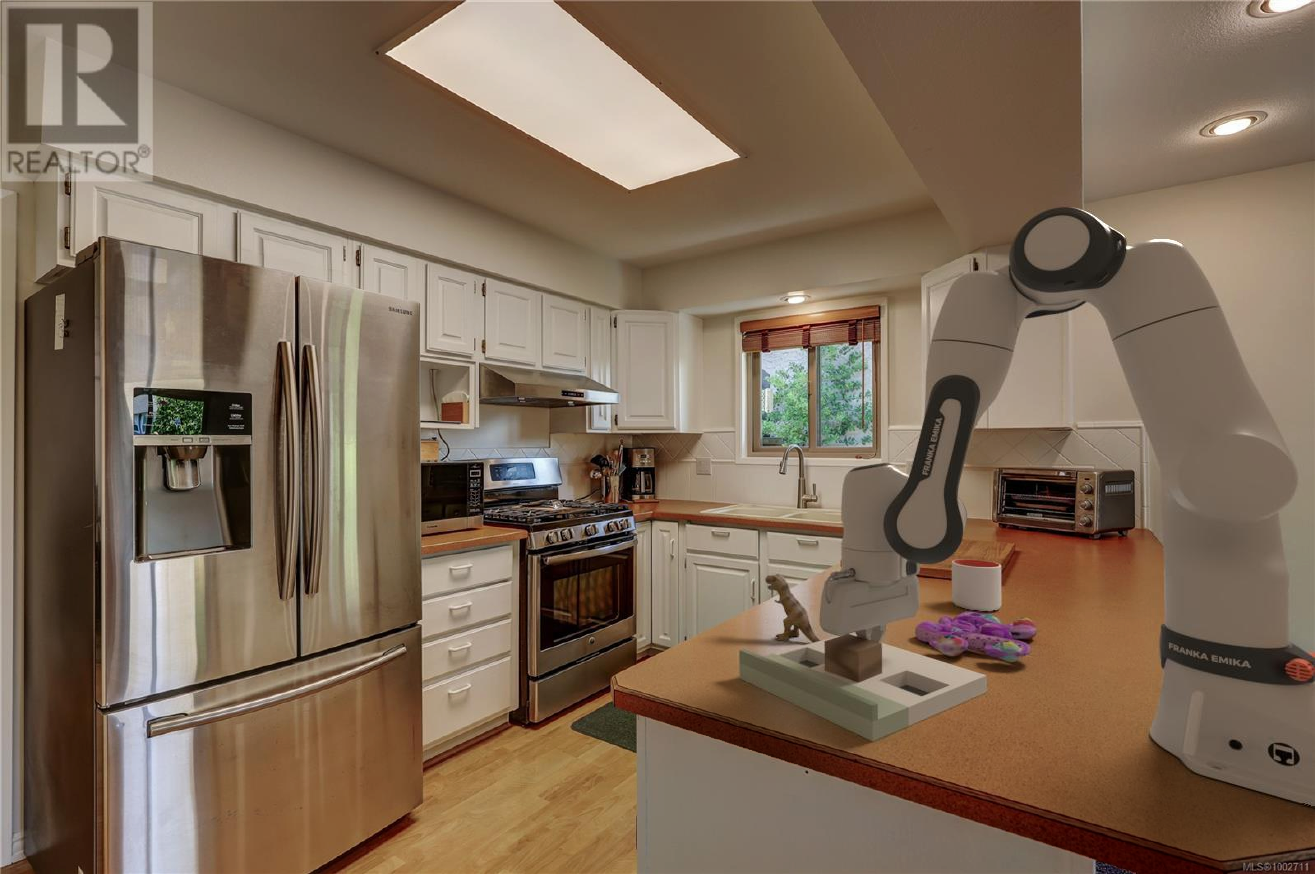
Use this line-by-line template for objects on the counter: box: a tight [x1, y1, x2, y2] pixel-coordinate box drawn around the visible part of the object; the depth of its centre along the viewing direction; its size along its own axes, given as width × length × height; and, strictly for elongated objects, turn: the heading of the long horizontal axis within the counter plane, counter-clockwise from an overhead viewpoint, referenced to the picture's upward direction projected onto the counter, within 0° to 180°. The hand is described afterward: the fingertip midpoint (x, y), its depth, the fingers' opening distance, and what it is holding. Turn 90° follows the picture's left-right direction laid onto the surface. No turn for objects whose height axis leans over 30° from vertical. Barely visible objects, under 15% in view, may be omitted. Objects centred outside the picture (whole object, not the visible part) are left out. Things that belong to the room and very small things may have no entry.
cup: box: [951, 558, 1002, 612], centre depth 139 cm, size 10×10×10 cm
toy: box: [764, 573, 822, 643], centre depth 116 cm, size 7×17×10 cm
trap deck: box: [738, 633, 988, 742], centre depth 94 cm, size 25×27×4 cm
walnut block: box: [825, 634, 883, 683], centre depth 93 cm, size 6×6×4 cm
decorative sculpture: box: [914, 611, 1038, 663], centre depth 113 cm, size 29×5×20 cm
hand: (870, 653), depth 96 cm, fingers closed
